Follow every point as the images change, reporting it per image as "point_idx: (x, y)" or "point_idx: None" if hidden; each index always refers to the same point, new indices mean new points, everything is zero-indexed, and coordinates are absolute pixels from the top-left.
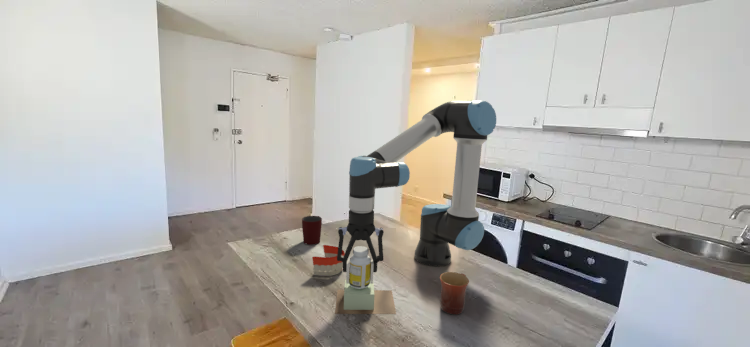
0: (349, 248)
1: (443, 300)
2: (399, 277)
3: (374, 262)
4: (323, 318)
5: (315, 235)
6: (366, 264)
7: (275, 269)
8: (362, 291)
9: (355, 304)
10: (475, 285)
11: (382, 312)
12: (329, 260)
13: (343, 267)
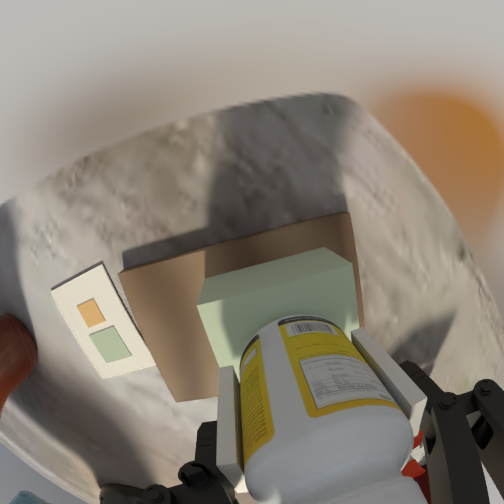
0: (473, 492)
1: (7, 339)
2: (184, 457)
3: (210, 475)
4: (375, 198)
5: (420, 485)
6: (270, 444)
7: (487, 367)
8: (266, 315)
9: (283, 264)
10: (26, 423)
11: (167, 269)
12: (417, 435)
13: (423, 377)
